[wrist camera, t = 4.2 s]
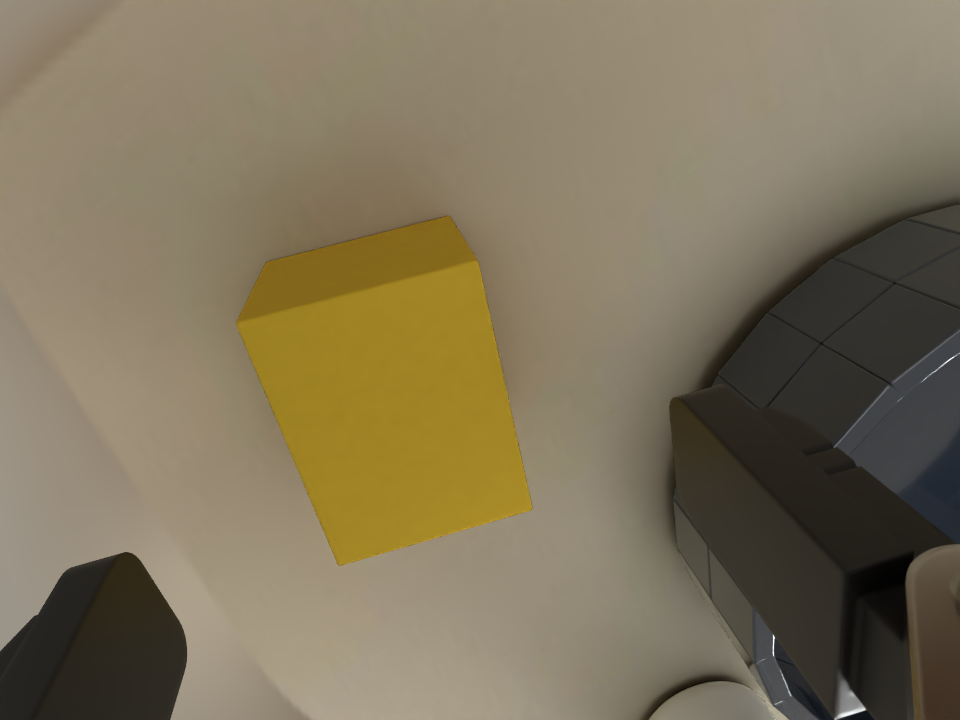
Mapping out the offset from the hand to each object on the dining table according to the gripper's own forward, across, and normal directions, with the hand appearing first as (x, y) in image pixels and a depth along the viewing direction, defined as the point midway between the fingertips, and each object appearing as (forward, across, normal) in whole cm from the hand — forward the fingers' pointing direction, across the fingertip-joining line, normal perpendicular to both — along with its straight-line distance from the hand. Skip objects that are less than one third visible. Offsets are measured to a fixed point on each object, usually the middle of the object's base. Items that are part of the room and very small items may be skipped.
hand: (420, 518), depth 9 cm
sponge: (+8, 0, 0) cm, 8 cm away
